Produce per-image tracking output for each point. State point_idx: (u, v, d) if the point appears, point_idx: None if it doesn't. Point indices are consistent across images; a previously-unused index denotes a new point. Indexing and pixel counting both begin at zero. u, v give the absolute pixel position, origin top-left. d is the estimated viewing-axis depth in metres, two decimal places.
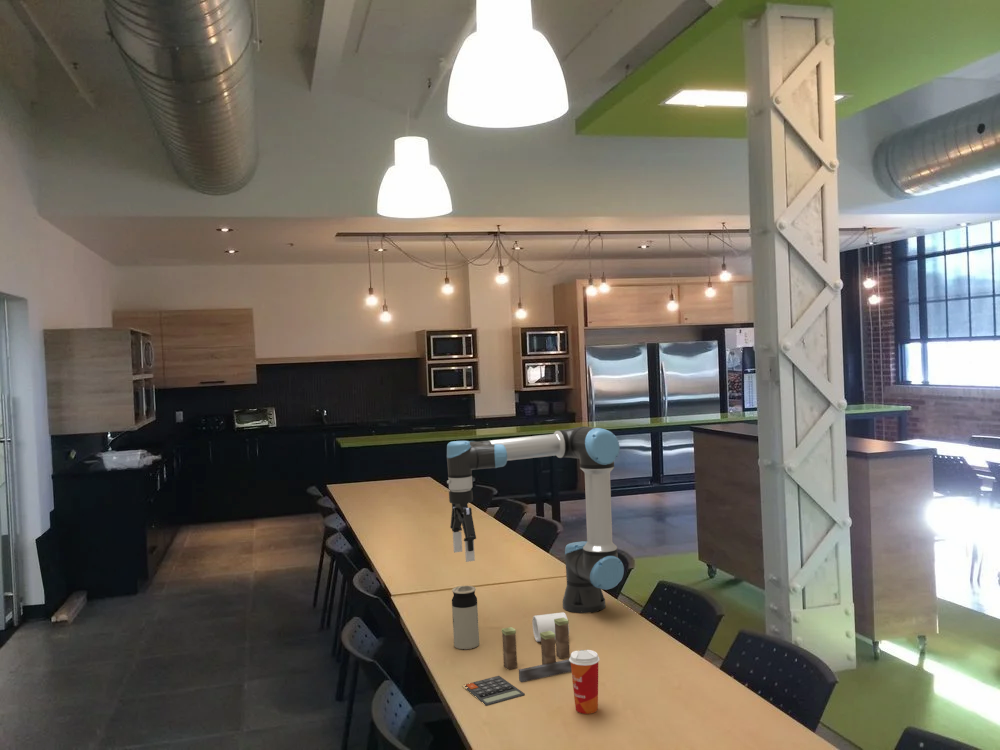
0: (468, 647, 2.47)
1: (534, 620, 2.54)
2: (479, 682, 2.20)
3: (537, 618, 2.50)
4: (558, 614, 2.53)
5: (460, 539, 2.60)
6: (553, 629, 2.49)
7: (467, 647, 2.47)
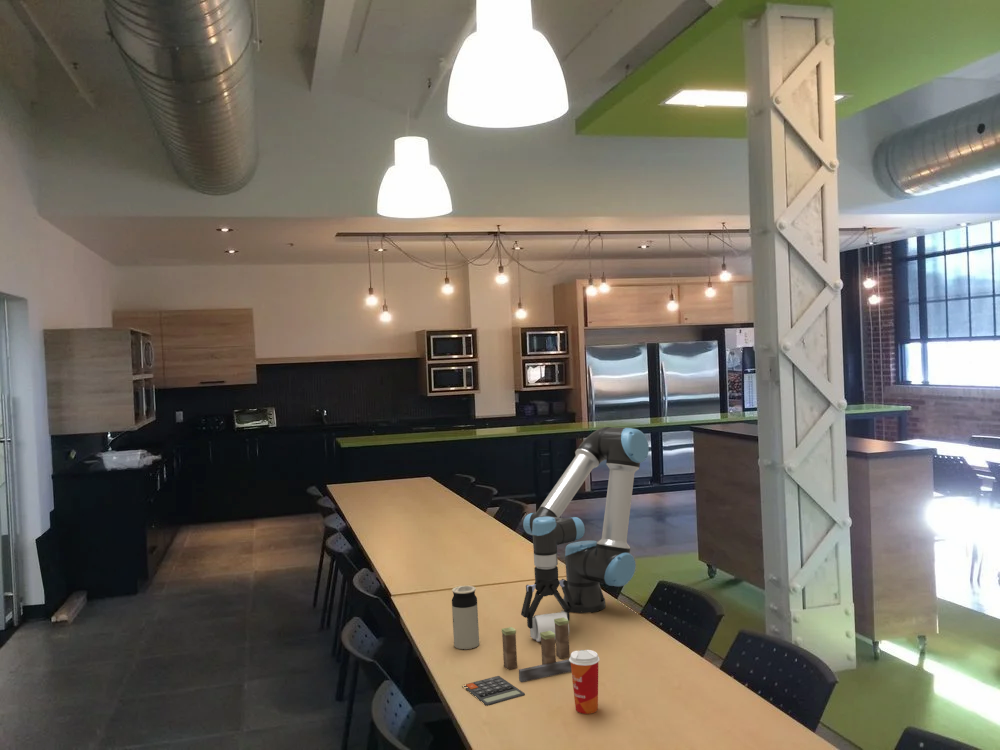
0: (468, 647, 2.47)
1: None
2: (479, 682, 2.20)
3: (537, 618, 2.50)
4: (558, 614, 2.53)
5: None
6: (553, 629, 2.49)
7: (467, 647, 2.47)
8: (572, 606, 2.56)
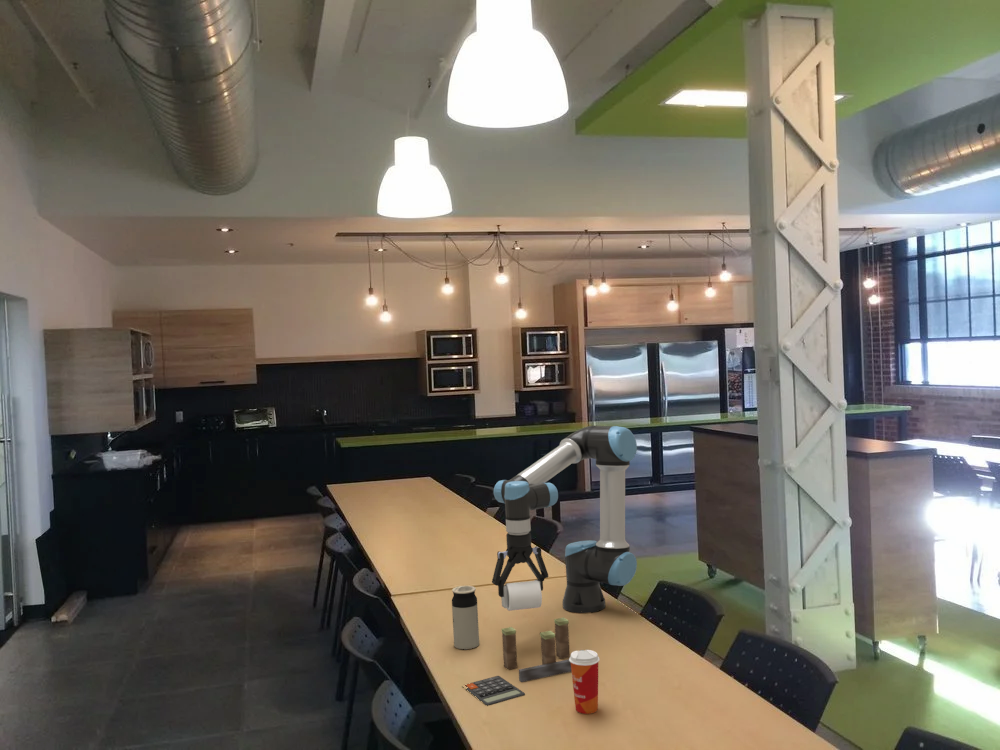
0: (468, 647, 2.47)
1: None
2: (479, 682, 2.20)
3: (508, 586, 2.39)
4: (531, 582, 2.42)
5: None
6: (525, 597, 2.38)
7: (467, 647, 2.47)
8: (546, 575, 2.46)
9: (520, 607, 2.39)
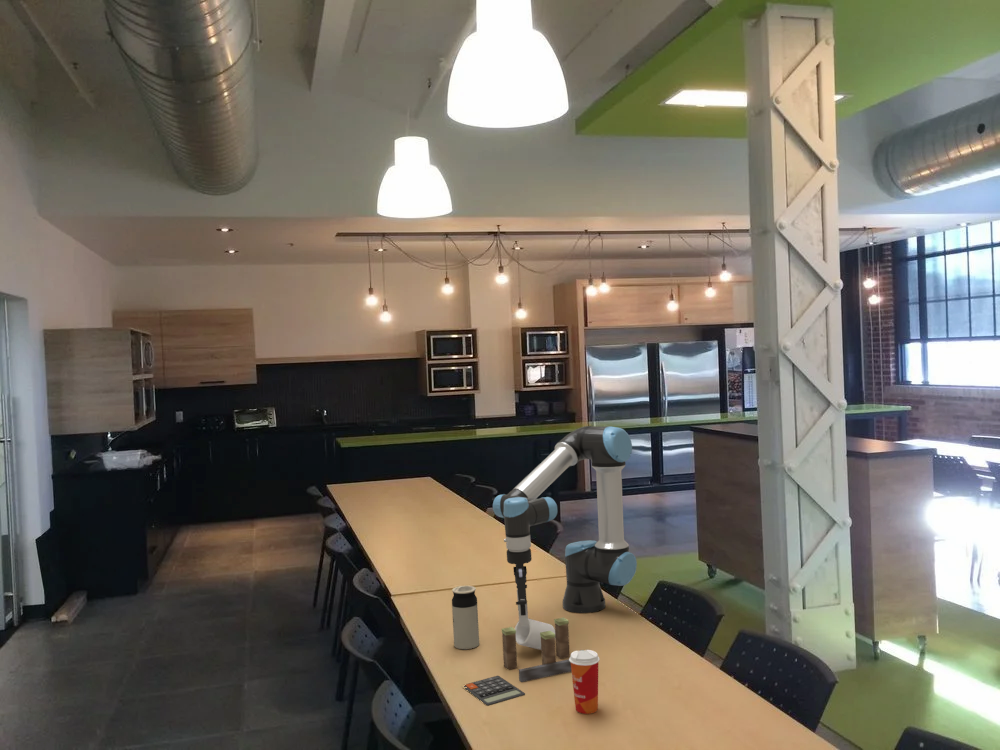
0: (468, 647, 2.47)
1: None
2: (479, 682, 2.20)
3: (530, 620, 2.39)
4: (546, 623, 2.43)
5: None
6: None
7: (467, 647, 2.47)
8: None
9: (534, 644, 2.38)
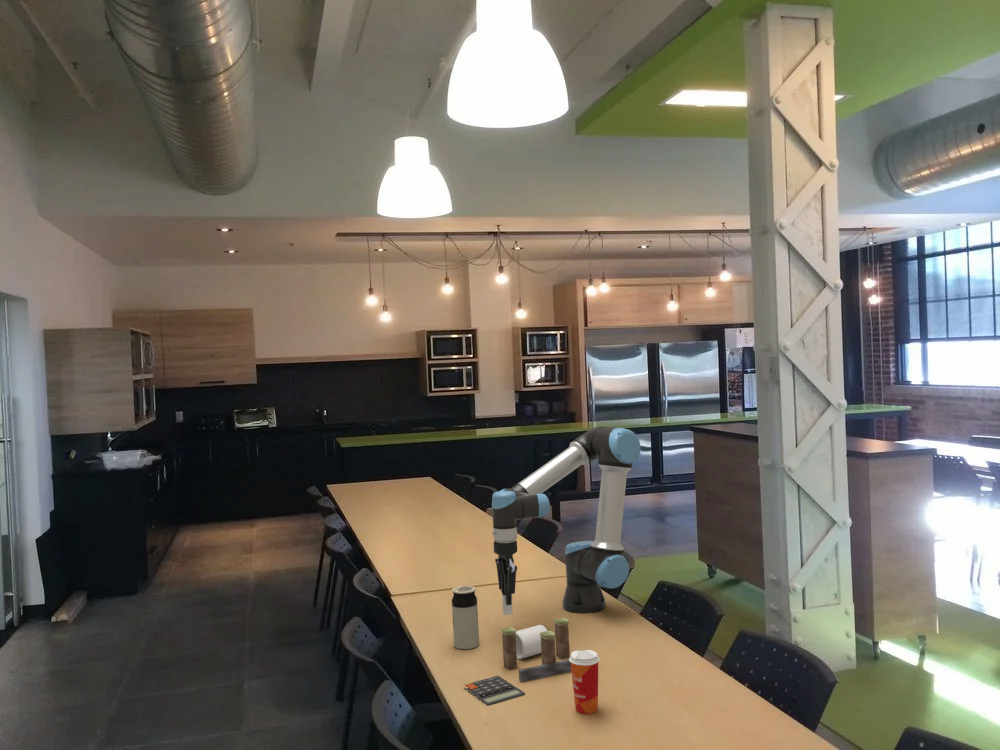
0: (468, 647, 2.47)
1: None
2: (478, 682, 2.20)
3: (519, 634, 2.37)
4: (537, 627, 2.41)
5: None
6: (537, 643, 2.37)
7: (467, 647, 2.47)
8: None
9: (531, 654, 2.37)
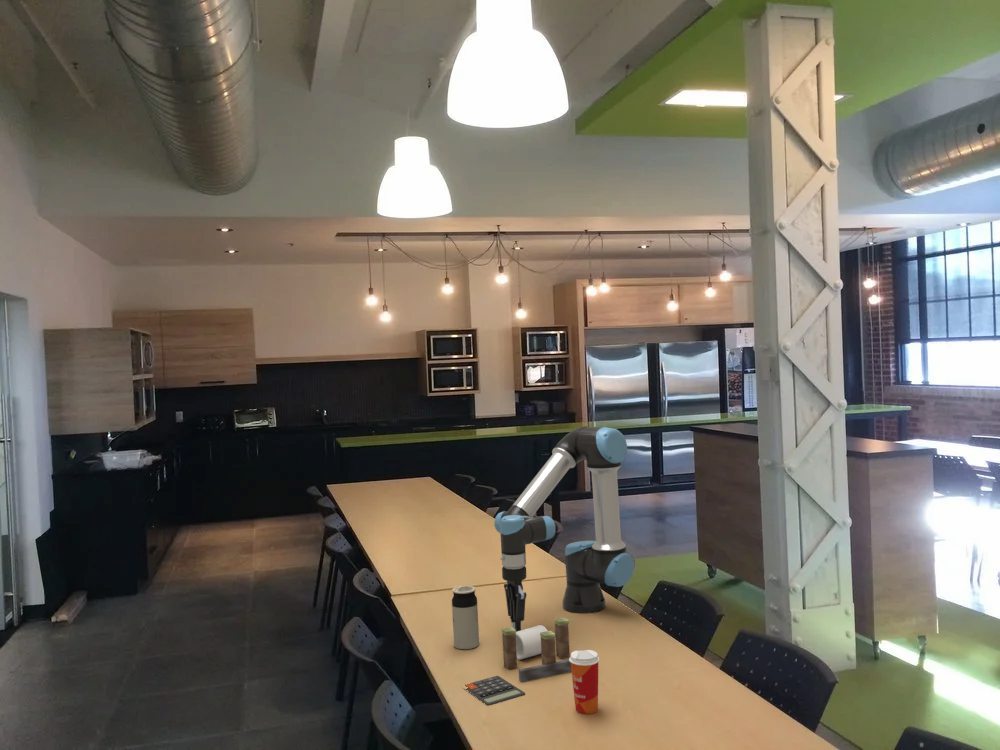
0: (468, 647, 2.47)
1: None
2: (478, 682, 2.20)
3: (520, 634, 2.36)
4: (537, 627, 2.41)
5: None
6: (537, 644, 2.36)
7: (467, 647, 2.47)
8: None
9: (532, 655, 2.37)
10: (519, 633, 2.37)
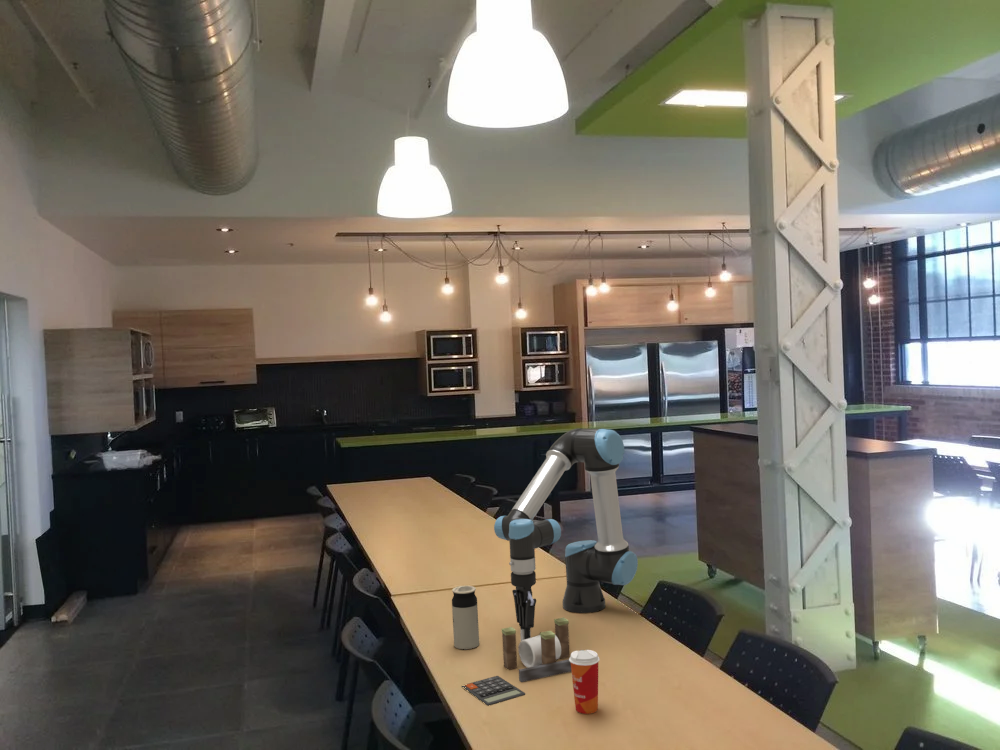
0: (468, 647, 2.47)
1: (521, 645, 2.33)
2: (478, 682, 2.20)
3: (529, 642, 2.29)
4: None
5: None
6: None
7: (467, 647, 2.47)
8: None
9: None
10: (529, 641, 2.30)
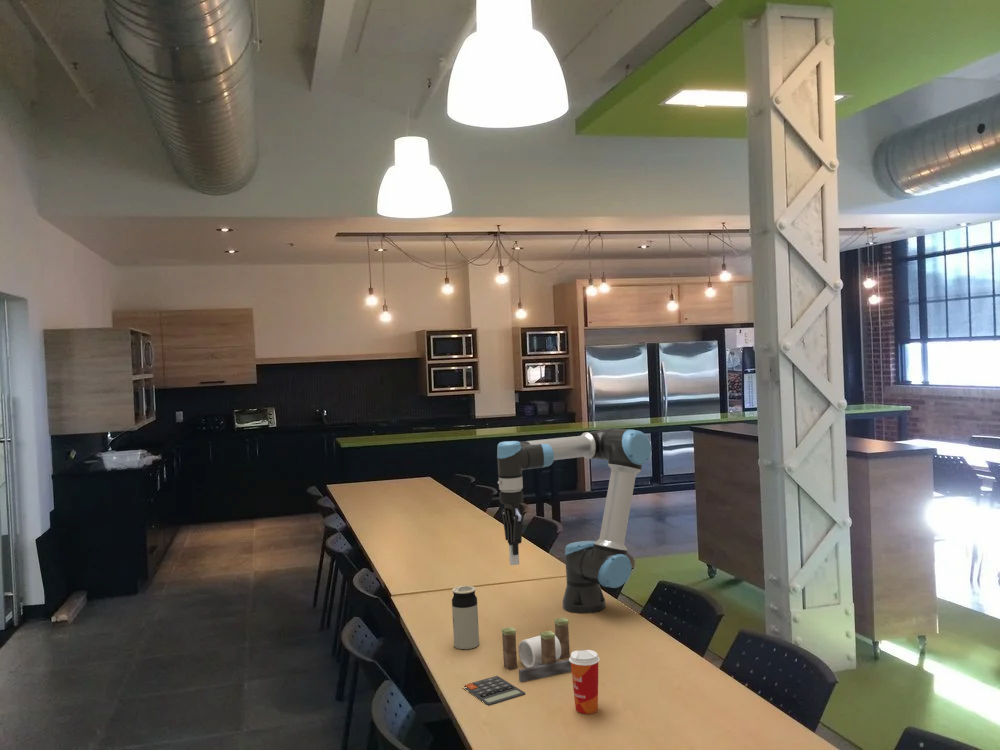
0: (468, 647, 2.47)
1: (521, 645, 2.33)
2: (478, 682, 2.20)
3: (529, 642, 2.29)
4: None
5: None
6: None
7: (467, 647, 2.47)
8: None
9: None
10: (529, 641, 2.30)
